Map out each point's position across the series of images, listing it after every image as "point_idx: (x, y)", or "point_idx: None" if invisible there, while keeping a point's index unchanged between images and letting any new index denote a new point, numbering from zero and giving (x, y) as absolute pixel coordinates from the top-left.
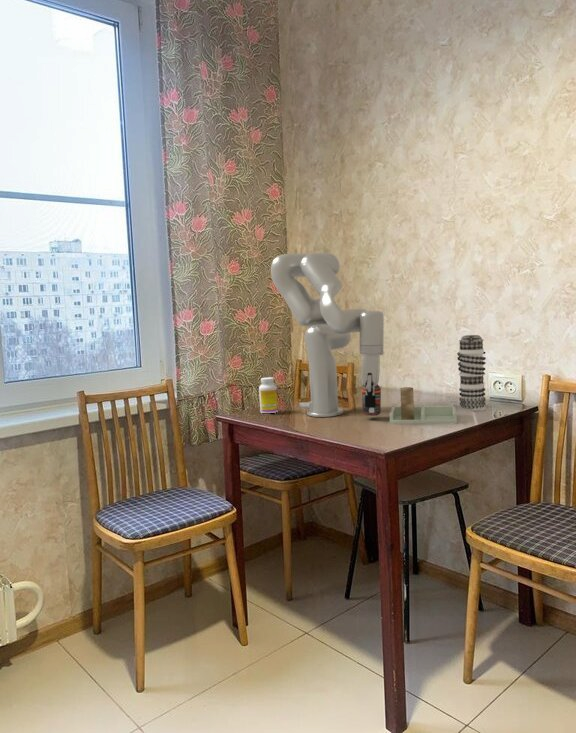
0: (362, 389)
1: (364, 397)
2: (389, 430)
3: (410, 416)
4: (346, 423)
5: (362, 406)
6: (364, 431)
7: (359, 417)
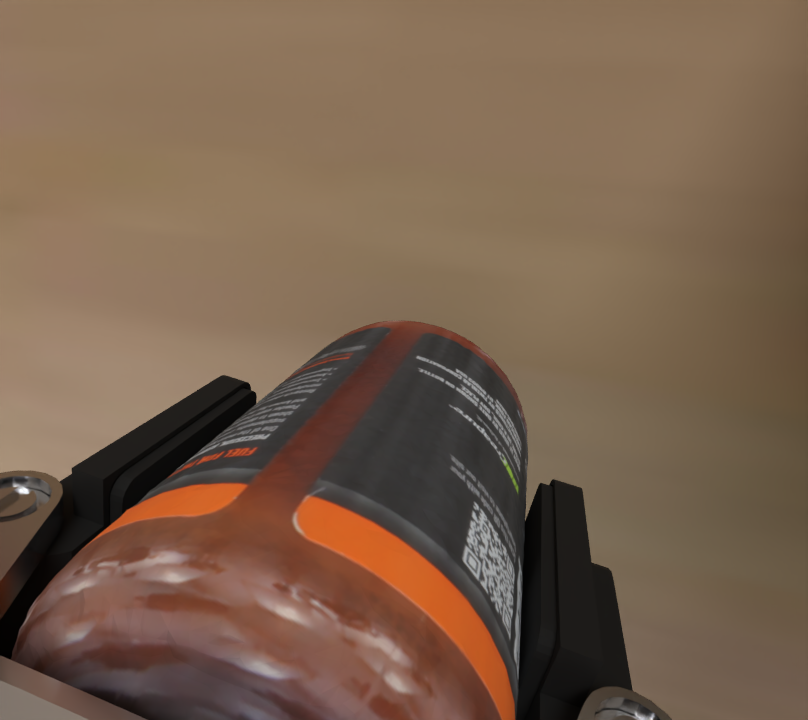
0: (221, 521)
1: (217, 439)
2: (75, 461)
3: None
4: (391, 93)
5: (359, 347)
6: (42, 259)
7: (688, 291)
